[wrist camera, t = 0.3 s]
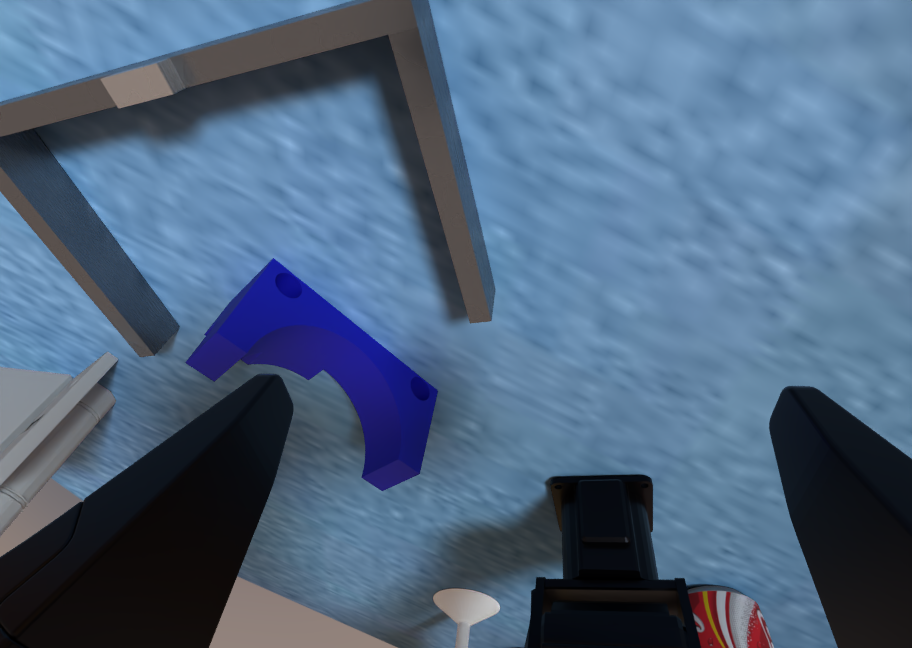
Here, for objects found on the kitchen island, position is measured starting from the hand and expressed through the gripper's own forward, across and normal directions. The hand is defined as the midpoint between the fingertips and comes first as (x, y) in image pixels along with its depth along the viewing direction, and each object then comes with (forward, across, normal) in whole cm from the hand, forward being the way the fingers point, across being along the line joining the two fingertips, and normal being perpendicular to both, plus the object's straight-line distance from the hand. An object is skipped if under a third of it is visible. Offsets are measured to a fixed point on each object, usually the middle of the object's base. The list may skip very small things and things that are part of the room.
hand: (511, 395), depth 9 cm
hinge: (+14, +33, +14) cm, 39 cm away
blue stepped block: (+14, +11, +11) cm, 22 cm away
